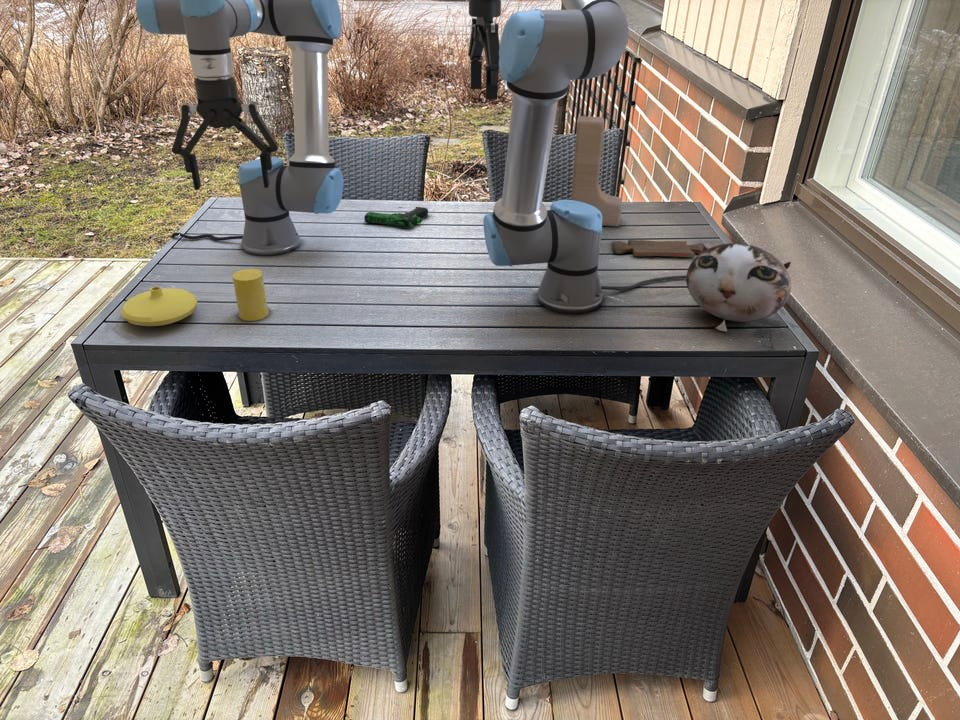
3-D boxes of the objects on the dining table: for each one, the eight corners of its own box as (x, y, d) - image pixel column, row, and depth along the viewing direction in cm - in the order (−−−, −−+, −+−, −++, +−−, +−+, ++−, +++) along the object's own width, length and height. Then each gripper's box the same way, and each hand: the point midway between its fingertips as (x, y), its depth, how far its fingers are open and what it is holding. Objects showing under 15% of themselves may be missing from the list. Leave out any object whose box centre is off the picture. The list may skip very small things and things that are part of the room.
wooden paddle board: (710, 260, 193) (701, 246, 201) (711, 254, 192) (702, 240, 200) (615, 256, 193) (610, 243, 202) (615, 250, 192) (611, 237, 201)
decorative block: (619, 227, 213) (632, 123, 197) (569, 224, 214) (577, 121, 199) (618, 218, 219) (630, 117, 204) (569, 215, 221) (577, 115, 205)
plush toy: (664, 307, 155) (693, 222, 157) (679, 329, 171) (705, 252, 172) (770, 332, 145) (800, 241, 146) (775, 353, 160) (802, 271, 162)
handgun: (434, 207, 218) (411, 221, 205) (434, 217, 219) (411, 231, 207) (387, 201, 223) (362, 214, 211) (387, 210, 224) (363, 224, 212)
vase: (172, 295, 169) (166, 268, 165) (214, 314, 161) (208, 285, 157) (109, 320, 158) (101, 291, 154) (150, 341, 150) (143, 311, 146)
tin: (260, 322, 158) (253, 281, 153) (234, 319, 159) (226, 278, 154) (273, 309, 163) (267, 270, 158) (247, 306, 165) (241, 267, 160)
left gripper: (140, 81, 131) (164, 194, 141) (280, 79, 134) (293, 190, 145) (150, 74, 137) (172, 183, 148) (283, 72, 140) (296, 179, 151)
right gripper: (455, -7, 175) (456, 85, 185) (484, 2, 154) (483, 104, 165) (485, -7, 176) (483, 84, 187) (517, 1, 156) (513, 103, 167)
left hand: (232, 187), depth 146 cm, fingers open, 13 cm apart
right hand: (483, 94), depth 176 cm, fingers open, 13 cm apart
